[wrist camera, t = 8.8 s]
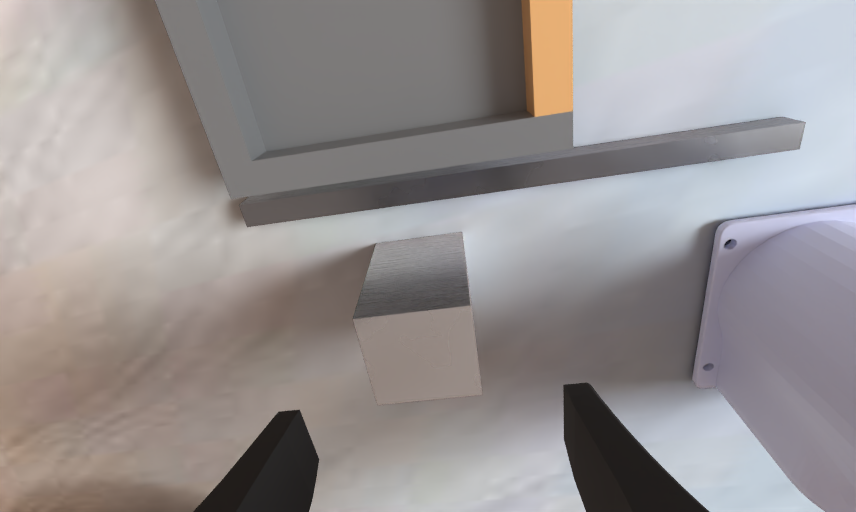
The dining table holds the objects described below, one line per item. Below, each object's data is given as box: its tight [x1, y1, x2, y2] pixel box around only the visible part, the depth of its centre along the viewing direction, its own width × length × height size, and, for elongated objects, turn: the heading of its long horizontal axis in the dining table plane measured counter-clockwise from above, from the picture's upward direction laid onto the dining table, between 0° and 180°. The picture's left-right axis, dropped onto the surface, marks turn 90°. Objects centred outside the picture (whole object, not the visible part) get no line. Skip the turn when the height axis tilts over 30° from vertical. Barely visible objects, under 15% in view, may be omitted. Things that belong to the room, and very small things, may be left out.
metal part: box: [353, 232, 482, 405], centre depth 18 cm, size 4×4×6 cm
